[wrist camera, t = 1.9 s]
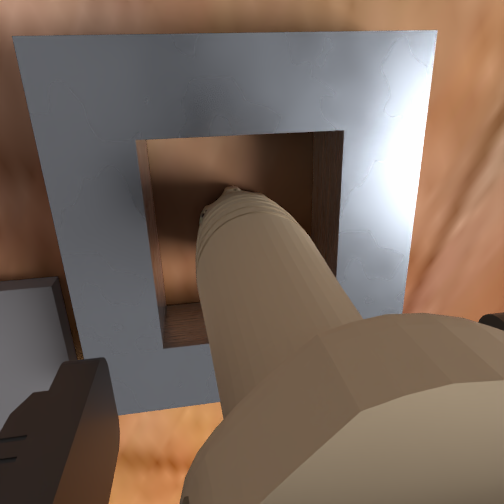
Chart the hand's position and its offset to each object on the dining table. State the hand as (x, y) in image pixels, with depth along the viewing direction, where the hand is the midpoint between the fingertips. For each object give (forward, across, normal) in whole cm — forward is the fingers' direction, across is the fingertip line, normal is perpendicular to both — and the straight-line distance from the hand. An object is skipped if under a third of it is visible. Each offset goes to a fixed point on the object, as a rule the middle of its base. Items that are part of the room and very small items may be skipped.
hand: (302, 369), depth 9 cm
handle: (+11, 0, 0) cm, 11 cm away
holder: (+10, 0, 0) cm, 11 cm away
